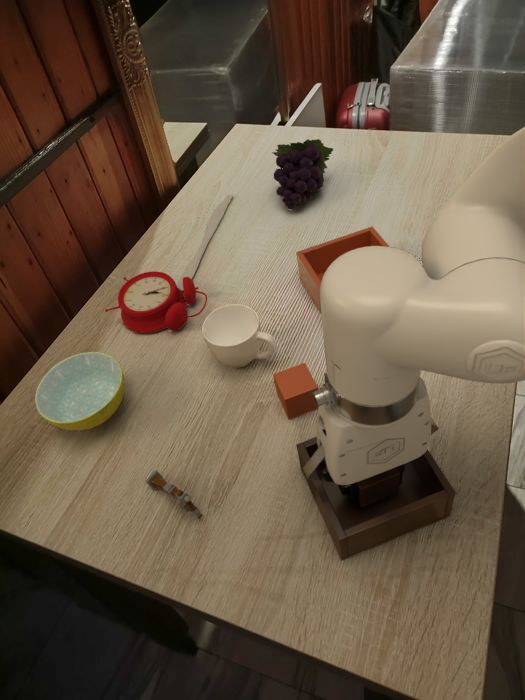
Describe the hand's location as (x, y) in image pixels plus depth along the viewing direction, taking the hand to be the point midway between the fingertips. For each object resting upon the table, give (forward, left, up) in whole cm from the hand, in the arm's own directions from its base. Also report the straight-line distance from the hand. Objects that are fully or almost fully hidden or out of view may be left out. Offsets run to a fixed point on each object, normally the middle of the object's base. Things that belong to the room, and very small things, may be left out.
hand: (370, 481), depth 59 cm
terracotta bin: (-12, -31, -2) cm, 33 cm away
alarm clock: (+16, -40, -2) cm, 43 cm away
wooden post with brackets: (+21, -8, -3) cm, 23 cm away
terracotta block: (+3, -15, -2) cm, 15 cm away
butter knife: (+5, -54, -2) cm, 55 cm away
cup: (+7, -25, -3) cm, 26 cm away
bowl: (+29, -25, -3) cm, 38 cm away
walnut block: (0, 0, 0) cm, 0 cm away
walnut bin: (0, 0, -2) cm, 2 cm away
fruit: (-15, -59, -3) cm, 61 cm away
